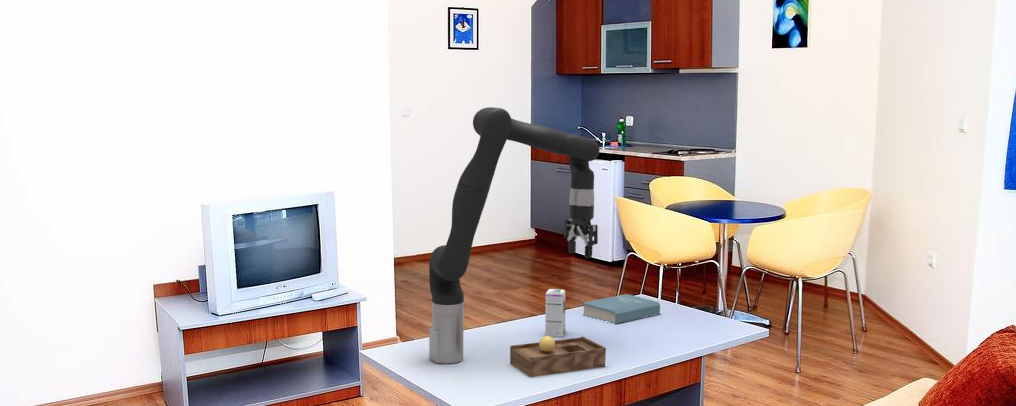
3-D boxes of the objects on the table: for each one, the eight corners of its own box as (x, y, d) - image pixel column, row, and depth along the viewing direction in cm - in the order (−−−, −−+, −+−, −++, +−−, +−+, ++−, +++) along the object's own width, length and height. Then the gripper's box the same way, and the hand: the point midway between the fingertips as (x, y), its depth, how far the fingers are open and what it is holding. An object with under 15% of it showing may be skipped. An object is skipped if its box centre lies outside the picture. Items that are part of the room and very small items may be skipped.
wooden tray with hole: (530, 377, 245) (530, 357, 244) (510, 363, 257) (510, 345, 256) (605, 366, 255) (605, 347, 255) (582, 354, 267) (582, 336, 266)
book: (625, 307, 329) (626, 294, 329) (659, 316, 317) (660, 302, 316) (582, 316, 315) (582, 302, 314) (615, 326, 303) (616, 311, 302)
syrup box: (562, 337, 286) (563, 293, 284) (544, 336, 287) (545, 292, 285) (565, 332, 291) (566, 289, 289) (547, 331, 292) (548, 288, 291)
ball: (543, 354, 251) (543, 339, 250) (536, 350, 255) (536, 334, 255) (557, 353, 253) (558, 337, 252) (550, 348, 257) (550, 333, 257)
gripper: (558, 201, 277) (556, 252, 279) (585, 206, 265) (583, 260, 267) (578, 200, 281) (576, 251, 283) (605, 205, 268) (603, 258, 270)
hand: (579, 255), depth 275 cm, fingers open, 8 cm apart
